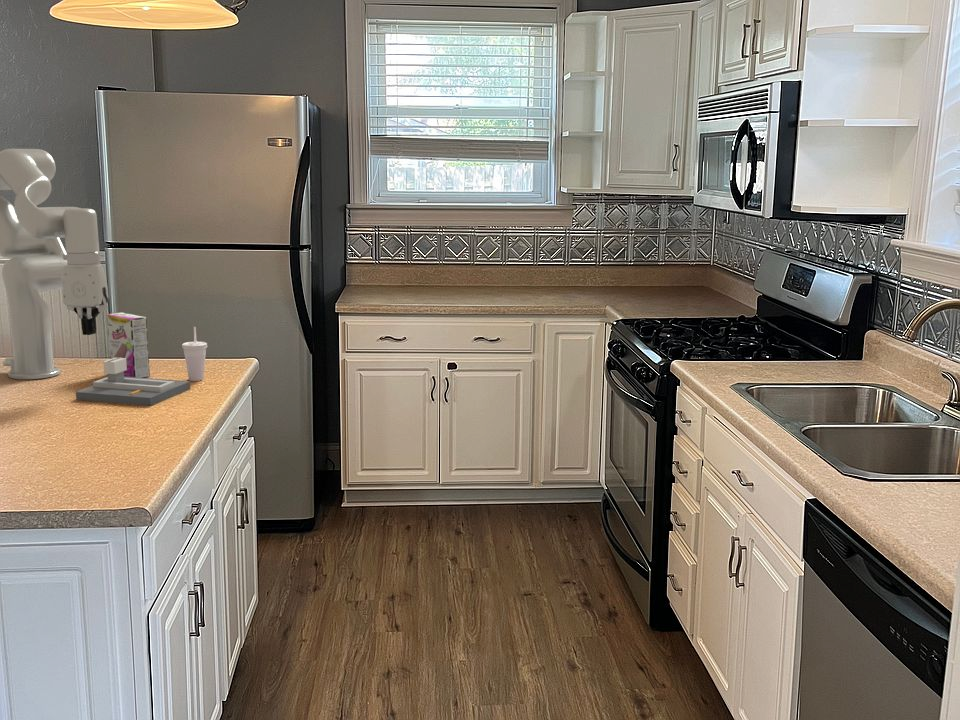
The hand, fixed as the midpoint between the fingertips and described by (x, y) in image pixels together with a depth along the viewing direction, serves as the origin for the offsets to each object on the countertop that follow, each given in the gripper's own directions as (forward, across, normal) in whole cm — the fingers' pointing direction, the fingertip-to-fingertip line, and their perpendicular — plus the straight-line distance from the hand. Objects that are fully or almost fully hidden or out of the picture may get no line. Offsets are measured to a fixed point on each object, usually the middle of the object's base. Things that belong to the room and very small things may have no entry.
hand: (89, 334), depth 236 cm
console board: (+15, +11, 0) cm, 19 cm away
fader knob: (+12, +6, 0) cm, 14 cm away
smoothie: (+15, +17, +19) cm, 30 cm away
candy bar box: (+15, -2, +18) cm, 24 cm away
